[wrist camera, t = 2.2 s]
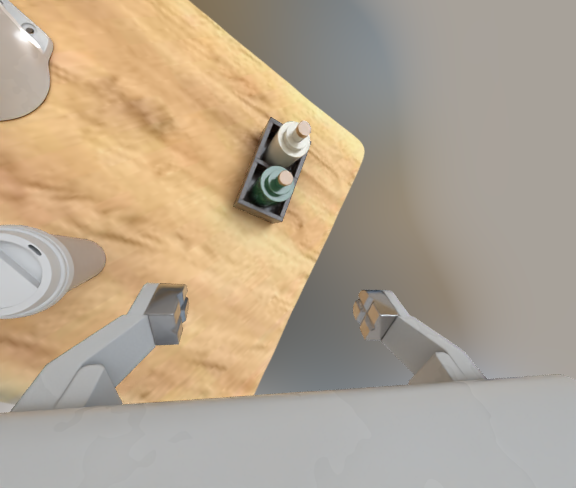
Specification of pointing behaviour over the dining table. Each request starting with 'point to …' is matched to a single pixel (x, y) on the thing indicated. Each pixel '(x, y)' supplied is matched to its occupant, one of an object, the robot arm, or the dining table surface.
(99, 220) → the dining table surface
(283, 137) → the cream bottle
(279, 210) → the caddy
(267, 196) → the green bottle
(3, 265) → the coffee cup
